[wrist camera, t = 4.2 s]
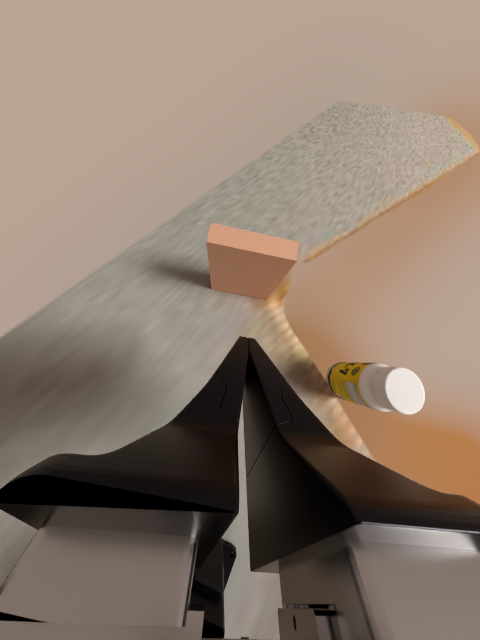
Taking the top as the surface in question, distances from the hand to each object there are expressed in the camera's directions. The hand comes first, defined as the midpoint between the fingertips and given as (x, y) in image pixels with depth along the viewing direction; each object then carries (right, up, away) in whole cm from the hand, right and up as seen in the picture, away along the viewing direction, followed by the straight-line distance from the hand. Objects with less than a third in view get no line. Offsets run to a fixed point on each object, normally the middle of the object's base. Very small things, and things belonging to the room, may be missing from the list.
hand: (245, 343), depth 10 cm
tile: (0, +6, +15) cm, 16 cm away
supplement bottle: (+13, -7, +14) cm, 21 cm away
